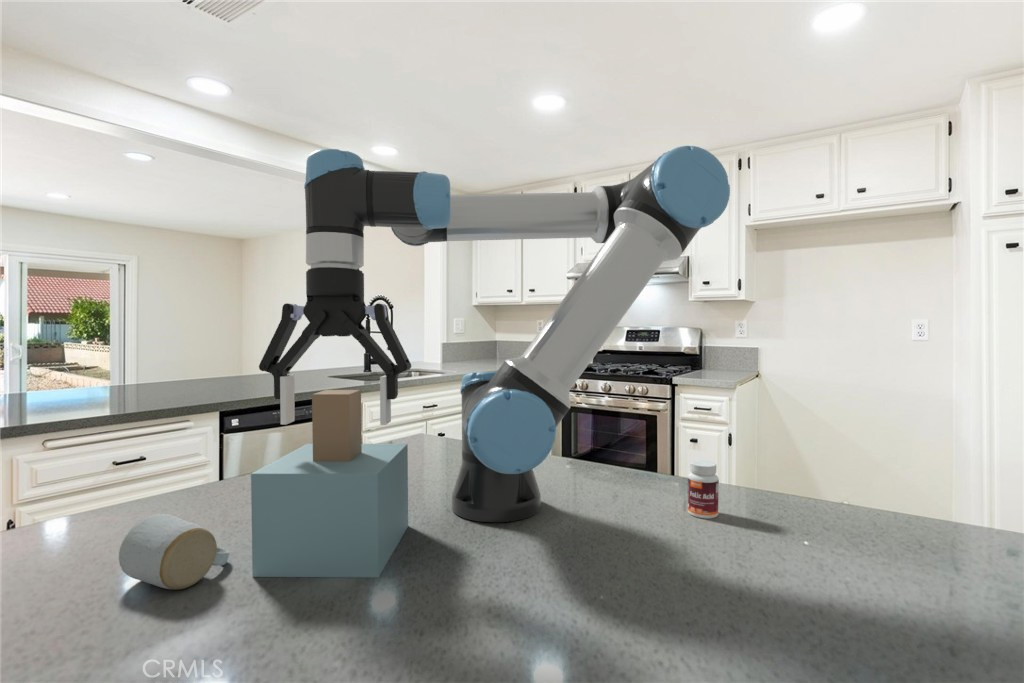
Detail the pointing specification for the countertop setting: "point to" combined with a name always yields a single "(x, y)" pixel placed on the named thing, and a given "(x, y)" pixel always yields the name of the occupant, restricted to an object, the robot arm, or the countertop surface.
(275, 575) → the pale blue storage box
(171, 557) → the ceramic mug
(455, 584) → the countertop surface
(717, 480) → the pill bottle
